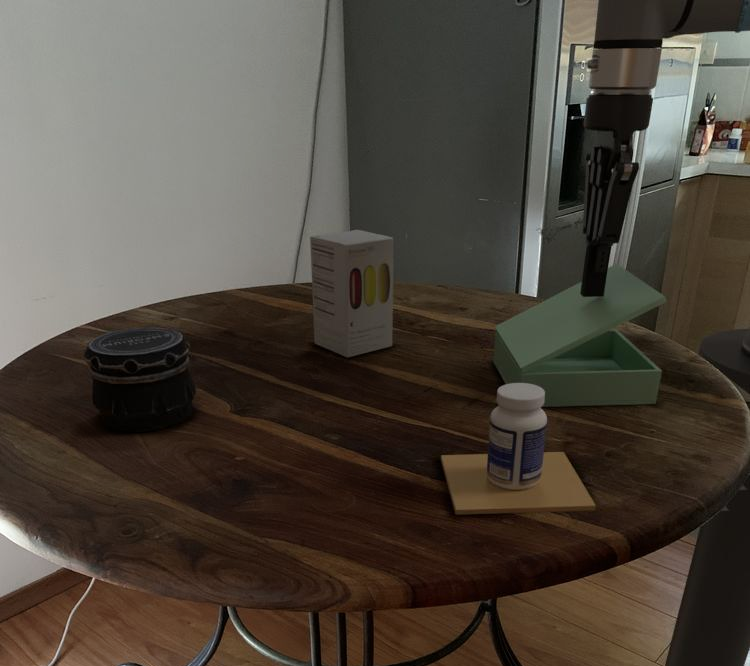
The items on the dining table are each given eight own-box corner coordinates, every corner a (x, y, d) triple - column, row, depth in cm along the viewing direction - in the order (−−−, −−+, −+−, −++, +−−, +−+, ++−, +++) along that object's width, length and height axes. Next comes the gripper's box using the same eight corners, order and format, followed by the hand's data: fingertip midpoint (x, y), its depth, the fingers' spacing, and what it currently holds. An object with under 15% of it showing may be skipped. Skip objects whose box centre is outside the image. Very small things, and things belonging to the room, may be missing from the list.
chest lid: (618, 268, 105) (616, 263, 104) (666, 301, 89) (664, 296, 89) (496, 331, 109) (494, 326, 108) (522, 373, 93) (520, 368, 93)
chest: (611, 358, 112) (616, 329, 109) (655, 404, 96) (662, 370, 94) (493, 361, 111) (495, 331, 109) (518, 407, 96) (521, 374, 93)
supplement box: (347, 359, 112) (343, 244, 104) (312, 344, 119) (306, 235, 110) (394, 346, 118) (395, 236, 109) (359, 332, 124) (357, 227, 115)
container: (153, 389, 102) (141, 318, 97) (219, 409, 96) (210, 334, 91) (75, 420, 93) (57, 344, 88) (143, 444, 87) (128, 364, 82)
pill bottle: (535, 466, 80) (545, 380, 75) (544, 492, 75) (555, 401, 70) (483, 466, 80) (489, 379, 75) (488, 491, 75) (495, 401, 70)
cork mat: (563, 456, 83) (563, 451, 83) (595, 510, 73) (595, 505, 73) (440, 459, 83) (440, 455, 83) (455, 515, 73) (455, 509, 72)
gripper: (573, 91, 91) (551, 283, 103) (606, 94, 80) (577, 309, 92) (632, 90, 91) (604, 282, 103) (674, 93, 80) (637, 308, 92)
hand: (591, 295), depth 98 cm, fingers closed
